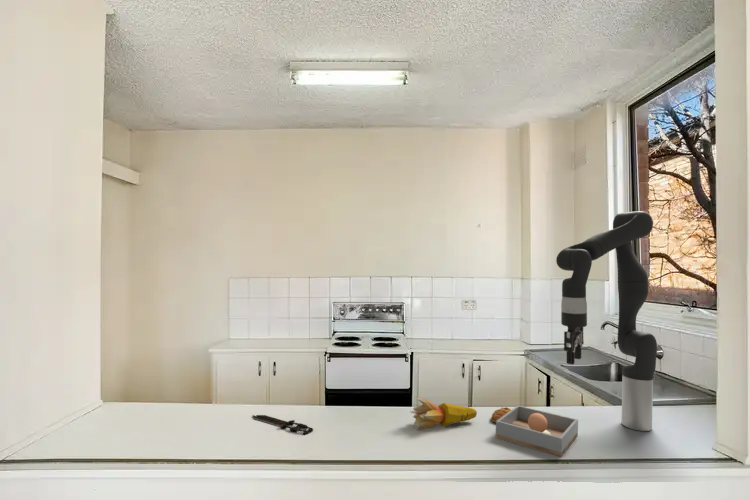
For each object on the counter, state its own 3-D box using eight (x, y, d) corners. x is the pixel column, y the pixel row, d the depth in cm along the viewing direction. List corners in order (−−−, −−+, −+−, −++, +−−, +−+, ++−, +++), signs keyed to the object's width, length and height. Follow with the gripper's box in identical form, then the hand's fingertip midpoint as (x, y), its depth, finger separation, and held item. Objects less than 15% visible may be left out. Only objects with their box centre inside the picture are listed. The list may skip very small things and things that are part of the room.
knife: (248, 418, 149) (248, 414, 149) (263, 413, 155) (263, 409, 155) (301, 438, 135) (301, 434, 135) (315, 431, 140) (315, 427, 140)
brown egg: (531, 427, 145) (531, 409, 145) (549, 431, 141) (550, 413, 141) (525, 432, 140) (525, 413, 140) (544, 437, 136) (544, 418, 136)
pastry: (504, 427, 148) (504, 415, 148) (486, 421, 153) (486, 410, 153) (516, 419, 155) (516, 409, 155) (498, 415, 160) (498, 404, 160)
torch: (474, 433, 151) (410, 432, 142) (465, 415, 157) (403, 413, 149) (484, 416, 147) (419, 414, 139) (474, 398, 154) (411, 395, 145)
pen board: (517, 419, 154) (517, 416, 154) (577, 435, 142) (577, 431, 142) (495, 437, 139) (495, 433, 139) (561, 456, 126) (561, 451, 126)
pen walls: (517, 416, 154) (517, 405, 155) (577, 431, 142) (578, 419, 142) (495, 433, 139) (495, 421, 139) (561, 452, 126) (561, 438, 126)
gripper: (581, 314, 132) (581, 367, 132) (591, 309, 143) (591, 358, 143) (555, 312, 136) (555, 364, 136) (567, 307, 147) (567, 355, 147)
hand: (574, 361), depth 140 cm, fingers open, 8 cm apart
